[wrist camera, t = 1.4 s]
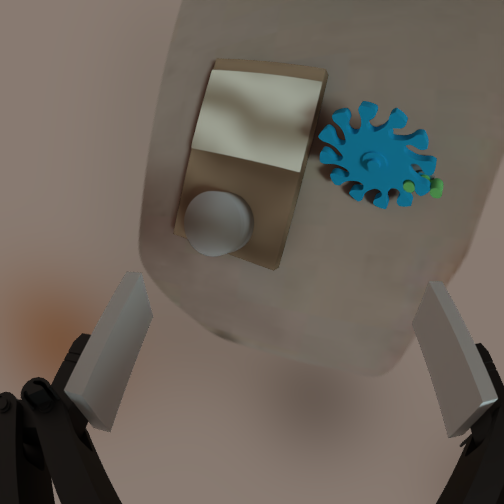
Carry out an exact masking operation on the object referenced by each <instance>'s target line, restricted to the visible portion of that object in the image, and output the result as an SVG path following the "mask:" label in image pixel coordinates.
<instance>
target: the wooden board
mask: <svg viewBox="0 0 504 504" xmlns="http://www.w3.org/2000/svg"><path fill="white" fill-rule="evenodd" d="M327 79H328V73H327V71H326V69H322V68H316V67H309V66H302V65H295V64H286V63H277V62H267V61H255V60H240V59H216V62H215V66H214V69H213V70H212V72H211V75H210V79H209V82H208V86H207V89H206V93H205V96H204V100H203V103H202V107H201V111H200V114H199V118H198V122H197V126H196V130H195V134H194V137H193V141H192V146H191V148H192V150H191V154H190V158H189V162H188V167H187V171H186V175H185V180H184V184H183V189H182V193H181V198H180V203H179V207H178V212H177V217H176V222H175V227H174V232H173V234H175V235H178V236H181V237H183V238H186V239H188V241H189V242H190V244H191V245H192V247H193V248H194V249H195V250H197V251H198V252H199V253H201V254H203V255H206V256H220V255H223V254H230V255H232V256H235V257H238V258H241V259H243V260H246V261H249V262H252V263H254V264H257V265H260V266H263V267H265V268H268V269H271V270H275V269H277V268H279V264H280V261H281V257H282V253H283V250H284V246H285V243H286V239H287V235H288V232H289V228H290V224H291V221H292V217H293V213H294V210H295V206H296V202H297V198H298V195H299V191H300V187H301V183H302V179H303V176H304V172H305V168H306V164H307V160H308V156H309V152H310V148H311V144H312V140H313V136H314V132H315V128H316V124H317V120H318V116H319V112H320V108H321V104H322V100H323V96H324V92H325V87H326V83H327Z"/></svg>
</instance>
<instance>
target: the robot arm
mask: <svg viewBox="0 0 504 504" xmlns="http://www.w3.org/2000/svg"><path fill="white" fill-rule="evenodd" d="M152 318H153V314H152V310H151V307H150V303H149V300H148V296H147V292H146V288H145V284H144V280H143V276H142V273H139V272H126V274H125V275H124V277H123V279H122V281H121V282H120V284H119V286H118V287H117V289H116V291H115V293H114V294H113V296H112V298H111V300H110V301H109V303H108V305H107V307H106V309H105V310H104V312H103V314H102V316H101V318H100V320H99V321H98V323H97V325H96V327H95V329H94V331H93V333H92V335H89V334H83V333H82V334H81V335H80V336H79V337H78V338H77V339H76V340H75V341H74V342H73V344H72V346H71V348H70V349H69V353H67V355H66V357H65V360H64V361H63V363H62V365H61V367H60V368H59V370H58V372H57V374H56V376H55V378H54V381H53V382H52V384H51V385H50V384H49V382H48V381H47V380H45V379H44V378H40V377H37V378H32V379H31V380H30V381H28V382H27V383H26V384H25V385H24V386H23V388H22V391H21V399H22V400H18V399H16V397H15V396H14V395H13V394H11V393H10V392H4V393H1V394H0V504H55V501H54V494H53V488H52V481H53V484H54V486H55V489H56V492H57V494H58V497H59V499H60V502H61V504H122V503H121V501H120V499H119V497H118V496H117V493H116V492H115V490H114V488H113V486H112V484H111V482H110V480H109V478H108V476H107V474H106V472H105V470H104V468H103V465H102V464H101V461H100V459H99V456H98V454H97V452H96V450H95V447H94V445H93V443H92V440H91V438H90V435H89V433H88V431H87V430H86V425H87V423H88V422H89V423H90V424H91V425H92V426H93V427H94V428H96V429H100V430H103V431H107V432H111V428H112V426H113V423H114V420H115V417H116V414H117V411H118V408H119V405H120V403H121V400H122V397H123V394H124V391H125V388H126V386H127V383H128V380H129V378H130V375H131V372H132V369H133V367H134V364H135V361H136V359H137V356H138V353H139V351H140V348H141V346H142V343H143V341H144V338H145V336H146V333H147V331H148V328H149V326H150V323H151V321H152ZM412 325H413V328H414V331H415V333H416V336H417V339H418V341H419V344H420V347H421V350H422V353H423V355H424V358H425V361H426V364H427V367H428V370H429V373H430V376H431V379H432V382H433V386H434V389H435V392H436V395H437V399H438V402H439V405H440V409H441V413H442V416H443V420H444V423H445V427H446V431H447V435H448V438H451V437H456V436H460V435H463V434H464V433H465V432H466V431H467V430H468V429H469V428H471V432H472V434H471V435H470V436H469V437H468V438H467V439H466V440H464V441H463V442H462V443H461V445H460V447H462V446H463V445H465V444H466V445H465V447H464V450H463V452H462V454H461V456H460V458H459V461H458V463H457V465H456V467H455V469H454V471H453V473H452V475H451V477H450V479H449V481H448V483H447V485H446V486H445V488H444V490H443V492H442V494H441V496H440V498H439V499H438V501H437V503H436V504H504V385H503V383H502V381H501V378H500V376H499V374H498V372H497V371H496V367H495V365H494V363H493V360H492V358H491V356H490V354H489V352H488V351H487V350H486V348H485V347H484V346H483V345H482V344H481V343H479V344H474V341H473V339H472V337H471V335H470V333H469V331H468V329H467V327H466V325H465V323H464V321H463V319H462V317H461V315H460V313H459V311H458V309H457V308H456V306H455V304H454V302H453V300H452V299H451V296H450V295H449V293H448V291H447V289H446V287H445V286H444V284H443V282H429V283H428V285H427V288H426V291H425V293H424V296H423V298H422V301H421V303H420V306H419V308H418V311H417V313H416V316H415V318H414V320H413V323H412ZM51 478H52V480H51Z"/></svg>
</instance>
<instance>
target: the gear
mask: <svg viewBox="0 0 504 504" xmlns="http://www.w3.org/2000/svg"><path fill="white" fill-rule="evenodd" d="M358 111H359V114H360V117H361V127H360V129H354V128H352V127H351V126H350V124H349V121H350V118H351V112H350V110H349V109H348V108H342V109H339V110H336V111H335V112H334V113H333V115H332V119H333V121H334V122H335V123H336V124H338V125H339V127H340V128H341V129H342V131H343V133H344V136H345V140H341V139H339V138H338V136H337V133H336V129H335V128H334V127H333V126H332V125H330V124H328V125H326V126H325V127H324V129H323V130H322V132H321V133H320V134H319V136H318V137H319V138H320V139H321V140H322V141H324V142H327V143H329V144H331V145H333V146H334V147H335V148H337V150H338V151H339V152H340V153H341V154H342V156H339V155H337V154H336V153H335V152H334V150H333V149H332V148H330V147H327V146H325V147H324V148H323V149H322V151H321V153H320V162H322V163H324V164H336V165H339V166H342V167H344V168H345V169H347V170H348V171H349V172H346V171H344V170H342V169H340V168H335V169H333V171H332V172H331V174H330V177H331V179H332V181H333V183H334V184H335V185H341V184H342V183H344V182H346V181H359V182H361V183H362V184H363V185H359V184H355V185H353V186H352V188H351V190H350V192H349V194H350V195H351V196H352V197H353V198H354V199H355V200H357V201H361V200H362V199H363V196H364V194H365V193H366V192H367V191H369V190H371V189H378V190H380V191H381V192H380V193H377V194H376V196H375V199H374V201H373V204H374V205H375V206H377V207H379V208H383V209H386V208H387V205H388V202H389V197H388V191H389V190H390V189H392V188H395V189H397V190H399V192H400V193H399V196H398V199H397V204H398V205H399V206H403V207H405V206H411V204H412V200H413V196H412V194H411V192H413V191H414V190H415V192H416V193H417V194H418V195H420V196H422V195H425V194H426V193H428V192H429V191H430V195H431V196H432V197H434V198H440V197H441V196H442V190H443V182H442V180H440V179H438V178H435V179H434V177H435V174H434V171H435V167H436V161H437V159H436V158H435V157H434V156H423V155H419V154H416V153H414V152H412V151H411V150H409V149H408V148H407V147H406V145H412V146H414V147H416V148H418V149H420V150H425V149H427V148H428V141H429V140H428V136H427V134H426V131H425V130H423V129H419V130H417V131H415V132H414V133H412V134H410V135H395V134H393V129H392V128H403V127H405V125H406V123H407V120H408V118H407V116H406V115H405V114H404V113H403V112H402V111H401V110H399V109H398V108H395V109H393V110H392V112H391V114H390V117H389V120H388V121H387V122H386V123H385V124H383V125H381V126H379V127H374V126H372V125H371V124H370V122H369V120H371V119H373V118H374V117H375V115H376V113H377V111H378V106H377V105H376V104H374V103H371V102H367V101H363V102H362V103H361V105H360V106H359V109H358ZM430 187H431V189H430Z"/></svg>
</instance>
